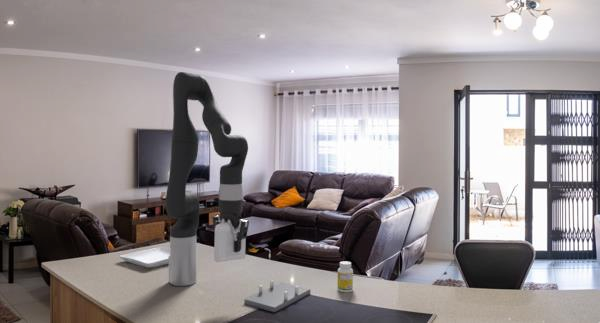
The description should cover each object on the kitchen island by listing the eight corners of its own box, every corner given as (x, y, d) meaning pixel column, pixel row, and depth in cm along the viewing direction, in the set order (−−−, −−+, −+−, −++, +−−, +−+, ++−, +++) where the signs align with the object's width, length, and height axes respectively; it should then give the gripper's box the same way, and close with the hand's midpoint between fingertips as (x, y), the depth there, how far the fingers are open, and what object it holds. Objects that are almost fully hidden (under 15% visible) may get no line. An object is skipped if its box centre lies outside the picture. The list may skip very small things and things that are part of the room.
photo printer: (241, 255, 142) (242, 218, 141) (247, 259, 138) (248, 221, 138) (212, 260, 136) (212, 221, 136) (217, 263, 133) (217, 223, 132)
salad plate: (160, 253, 199) (160, 245, 199) (190, 260, 186) (190, 252, 186) (118, 263, 182) (118, 255, 182) (148, 272, 169) (148, 263, 169)
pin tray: (244, 303, 136) (244, 291, 136) (281, 286, 152) (282, 275, 152) (274, 312, 129) (274, 299, 129) (310, 293, 146) (310, 281, 146)
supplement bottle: (350, 293, 146) (350, 265, 146) (335, 291, 148) (335, 263, 148) (354, 288, 151) (354, 261, 151) (339, 286, 153) (340, 259, 153)
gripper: (255, 198, 135) (254, 251, 136) (222, 194, 143) (222, 244, 144) (239, 201, 129) (238, 256, 130) (206, 196, 137) (205, 249, 138)
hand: (229, 250), depth 137 cm, fingers closed on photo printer, 5 cm apart
